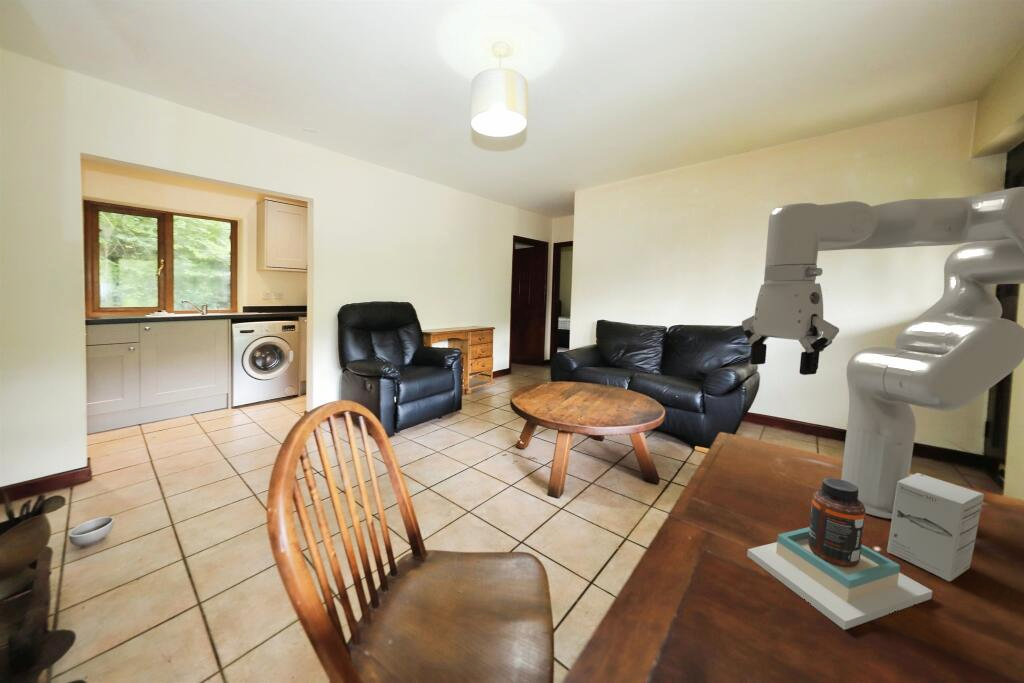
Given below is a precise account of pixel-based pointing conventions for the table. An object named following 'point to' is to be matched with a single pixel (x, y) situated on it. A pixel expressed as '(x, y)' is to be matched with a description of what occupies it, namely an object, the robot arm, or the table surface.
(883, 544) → the table surface
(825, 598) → the teal framed tray
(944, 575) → the supplement box
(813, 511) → the supplement bottle
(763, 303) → the robot arm
